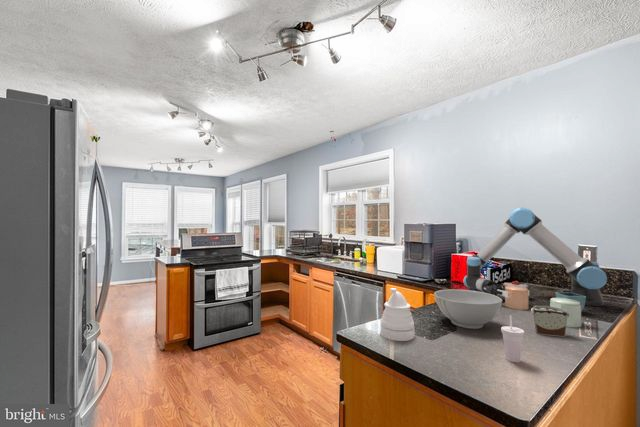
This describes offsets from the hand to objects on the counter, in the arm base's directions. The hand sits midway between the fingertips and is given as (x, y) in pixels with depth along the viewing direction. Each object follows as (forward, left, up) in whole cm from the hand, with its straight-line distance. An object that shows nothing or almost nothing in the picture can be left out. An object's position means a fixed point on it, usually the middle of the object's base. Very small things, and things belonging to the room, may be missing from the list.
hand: (518, 294), depth 157 cm
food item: (-18, -18, -7) cm, 26 cm away
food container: (+21, +32, -7) cm, 38 cm away
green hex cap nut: (+2, +25, -7) cm, 25 cm away
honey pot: (+81, +19, -7) cm, 83 cm away
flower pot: (-18, +13, -7) cm, 23 cm away
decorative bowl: (+45, +15, -7) cm, 48 cm away
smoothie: (+56, +48, -7) cm, 74 cm away
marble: (+2, +11, -5) cm, 12 cm away
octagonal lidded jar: (0, -2, -7) cm, 7 cm away
